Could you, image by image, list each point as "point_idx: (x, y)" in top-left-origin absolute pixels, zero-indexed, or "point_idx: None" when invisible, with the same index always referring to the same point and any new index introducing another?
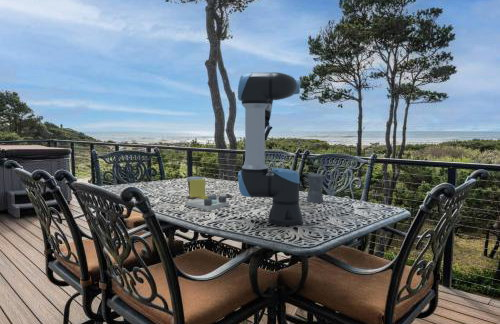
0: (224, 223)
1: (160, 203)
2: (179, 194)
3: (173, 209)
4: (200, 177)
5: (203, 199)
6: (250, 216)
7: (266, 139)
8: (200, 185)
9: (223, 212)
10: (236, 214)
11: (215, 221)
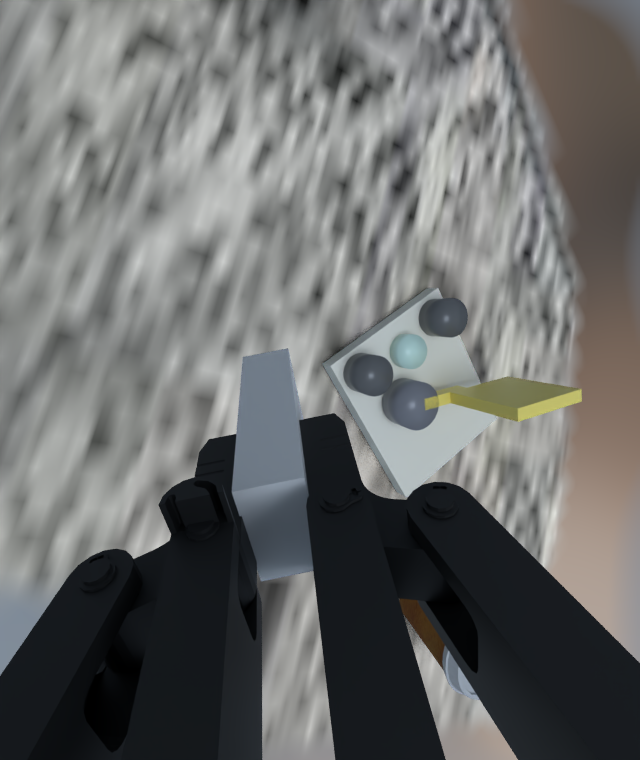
0: (423, 16)
1: (550, 469)
2: None
3: (531, 346)
4: (460, 679)
5: (424, 453)
6: (288, 81)
7: (56, 595)
8: (512, 396)
9: (380, 221)
10: (338, 155)
11: (445, 70)
